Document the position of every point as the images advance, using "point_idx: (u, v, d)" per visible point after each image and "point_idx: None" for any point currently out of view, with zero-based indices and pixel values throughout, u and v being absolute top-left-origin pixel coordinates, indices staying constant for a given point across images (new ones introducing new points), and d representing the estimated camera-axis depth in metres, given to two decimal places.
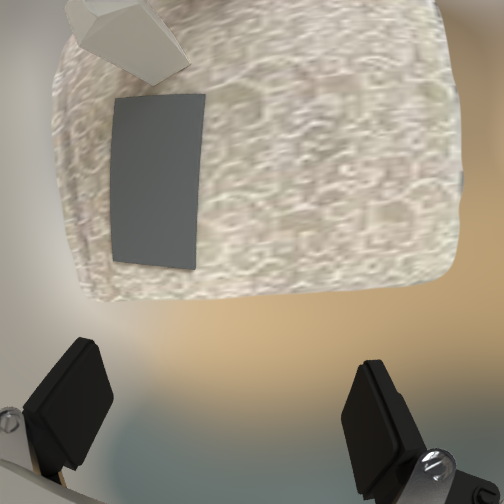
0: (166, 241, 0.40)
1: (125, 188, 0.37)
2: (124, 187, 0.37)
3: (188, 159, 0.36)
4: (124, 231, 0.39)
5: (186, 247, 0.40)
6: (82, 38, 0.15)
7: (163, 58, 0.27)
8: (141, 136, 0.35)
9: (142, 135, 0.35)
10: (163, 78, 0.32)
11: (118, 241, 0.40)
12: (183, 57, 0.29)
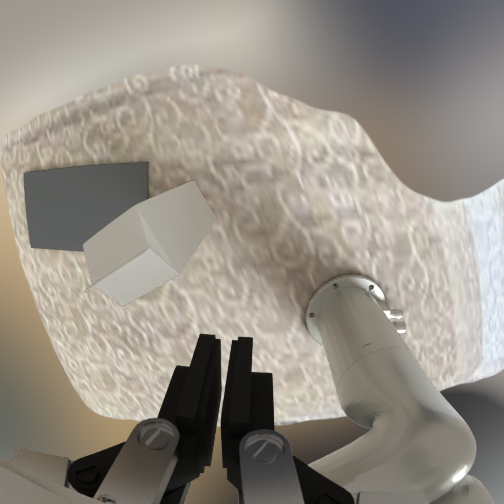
0: (41, 224, 0.39)
1: (70, 184, 0.36)
2: (71, 183, 0.36)
3: None
4: (42, 184, 0.36)
5: (41, 241, 0.40)
6: (85, 253, 0.20)
7: None
8: (110, 197, 0.37)
9: (110, 198, 0.37)
10: None
11: (36, 178, 0.36)
12: None
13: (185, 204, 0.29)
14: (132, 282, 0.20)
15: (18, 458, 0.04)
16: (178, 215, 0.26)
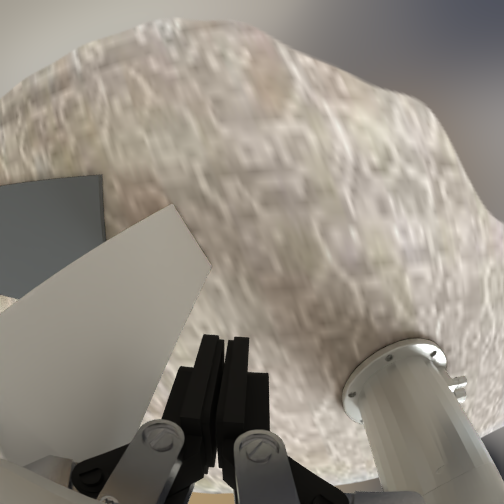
0: None
1: (7, 209, 0.22)
2: (7, 208, 0.22)
3: None
4: None
5: None
6: None
7: None
8: (53, 230, 0.22)
9: (54, 231, 0.22)
10: None
11: None
12: None
13: (142, 266, 0.14)
14: None
15: None
16: (115, 307, 0.11)
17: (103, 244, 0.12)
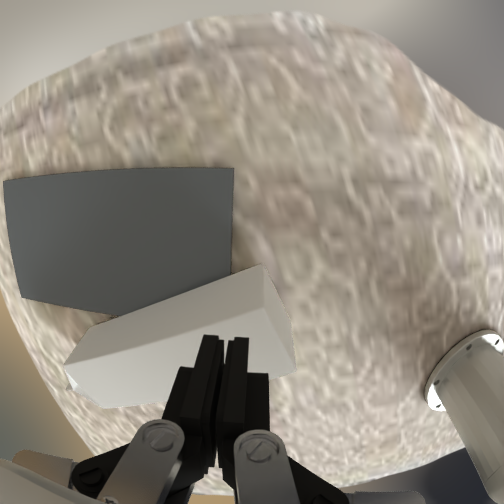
0: (34, 265, 0.23)
1: (80, 202, 0.21)
2: (81, 200, 0.21)
3: (129, 303, 0.24)
4: (32, 201, 0.21)
5: (37, 291, 0.24)
6: None
7: None
8: (157, 229, 0.22)
9: (158, 230, 0.22)
10: None
11: (21, 191, 0.21)
12: None
13: (158, 366, 0.19)
14: None
15: (21, 459, 0.04)
16: (126, 377, 0.20)
17: (124, 350, 0.18)
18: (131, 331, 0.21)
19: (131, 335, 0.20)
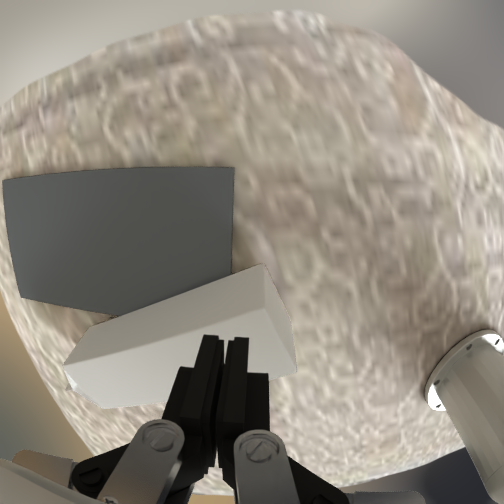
0: (34, 265, 0.23)
1: (80, 201, 0.21)
2: (80, 199, 0.21)
3: (129, 303, 0.24)
4: (31, 200, 0.21)
5: (36, 291, 0.24)
6: None
7: None
8: (157, 228, 0.22)
9: (158, 230, 0.22)
10: None
11: (20, 190, 0.21)
12: None
13: (158, 366, 0.19)
14: None
15: (21, 459, 0.04)
16: (126, 377, 0.20)
17: (124, 351, 0.18)
18: (130, 331, 0.21)
19: (131, 335, 0.20)
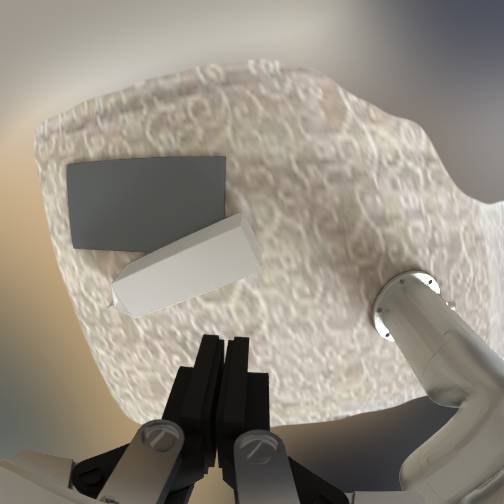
0: (89, 222, 0.38)
1: (129, 177, 0.36)
2: (130, 176, 0.36)
3: (159, 242, 0.39)
4: (91, 177, 0.36)
5: (88, 241, 0.39)
6: None
7: None
8: (180, 193, 0.37)
9: (180, 193, 0.37)
10: None
11: (83, 171, 0.36)
12: None
13: (179, 270, 0.34)
14: None
15: (21, 459, 0.04)
16: (157, 283, 0.34)
17: (159, 262, 0.33)
18: (162, 254, 0.35)
19: (162, 255, 0.35)
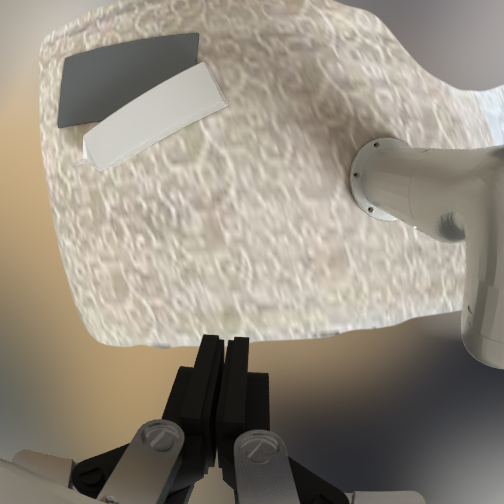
0: (76, 100, 0.36)
1: (116, 57, 0.34)
2: (117, 56, 0.34)
3: None
4: (84, 63, 0.34)
5: (72, 118, 0.37)
6: None
7: None
8: (157, 63, 0.34)
9: (158, 63, 0.34)
10: None
11: (78, 59, 0.33)
12: (204, 115, 0.37)
13: (146, 108, 0.31)
14: None
15: (21, 459, 0.04)
16: (125, 125, 0.32)
17: (129, 103, 0.31)
18: None
19: None
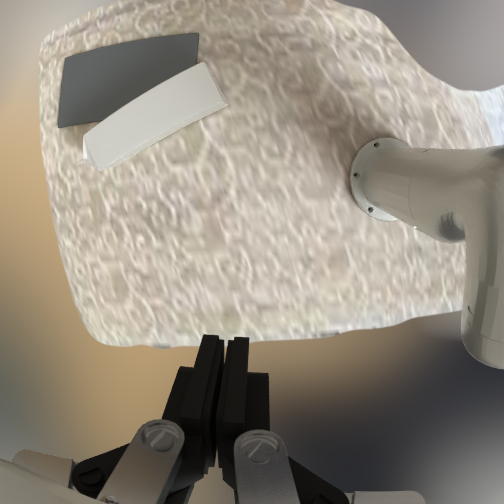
0: (76, 100, 0.36)
1: (116, 57, 0.34)
2: (117, 56, 0.34)
3: None
4: (85, 63, 0.34)
5: (72, 118, 0.37)
6: None
7: None
8: (158, 63, 0.34)
9: (158, 63, 0.34)
10: None
11: (78, 59, 0.33)
12: (205, 115, 0.37)
13: (146, 108, 0.31)
14: None
15: (21, 459, 0.04)
16: (125, 125, 0.32)
17: (129, 102, 0.31)
18: None
19: None
